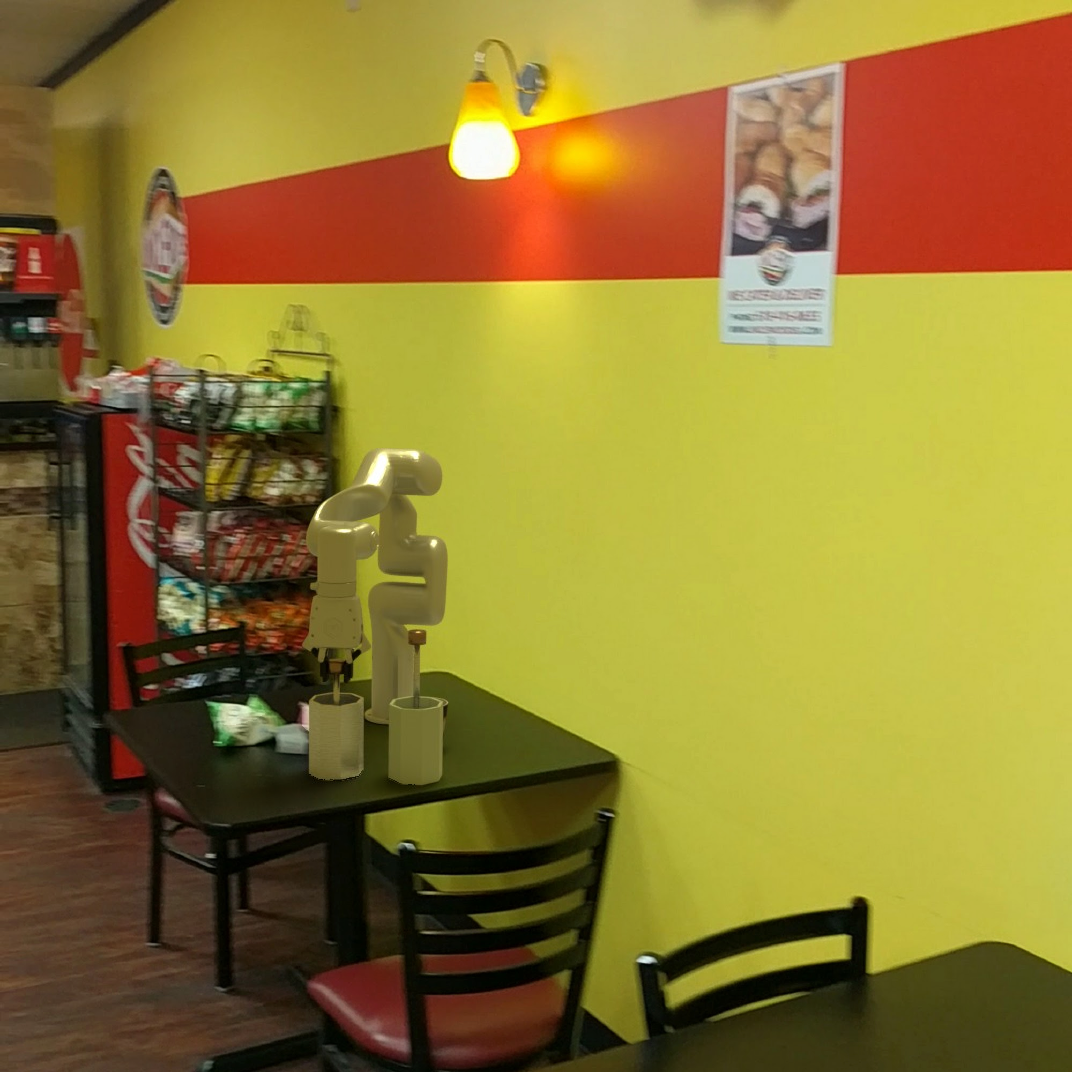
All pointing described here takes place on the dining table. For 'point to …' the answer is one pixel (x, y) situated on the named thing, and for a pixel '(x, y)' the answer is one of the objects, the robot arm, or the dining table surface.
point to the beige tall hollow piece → (336, 736)
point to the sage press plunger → (416, 662)
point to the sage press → (415, 740)
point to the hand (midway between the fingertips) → (336, 680)
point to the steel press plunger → (336, 676)
